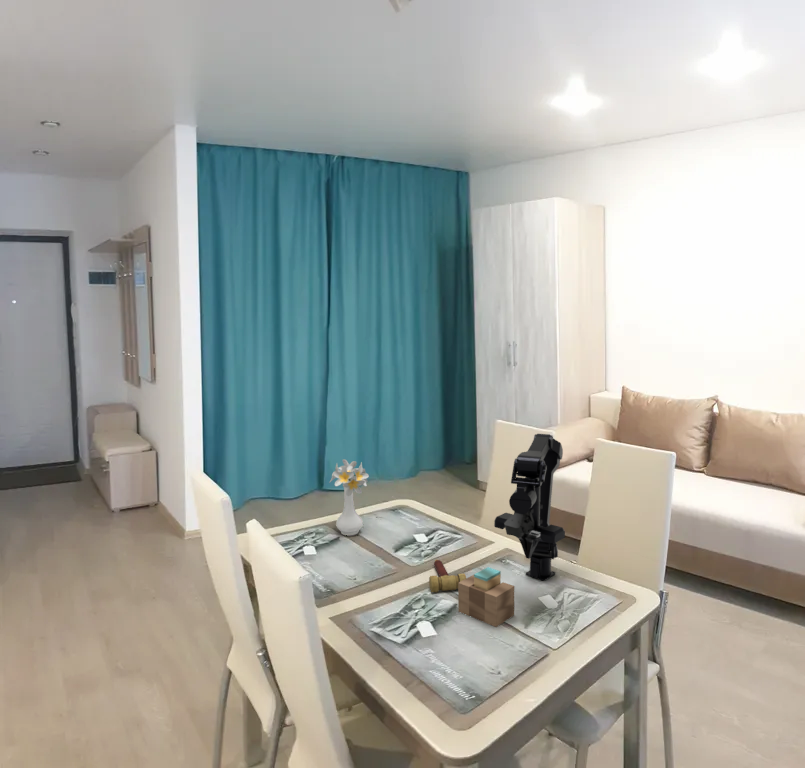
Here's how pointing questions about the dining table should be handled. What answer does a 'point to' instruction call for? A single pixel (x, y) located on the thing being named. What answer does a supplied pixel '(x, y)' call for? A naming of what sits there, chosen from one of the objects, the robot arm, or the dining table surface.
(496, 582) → the block
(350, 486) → the flower vase
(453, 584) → the gavel
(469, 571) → the dining table surface
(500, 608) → the socket block
